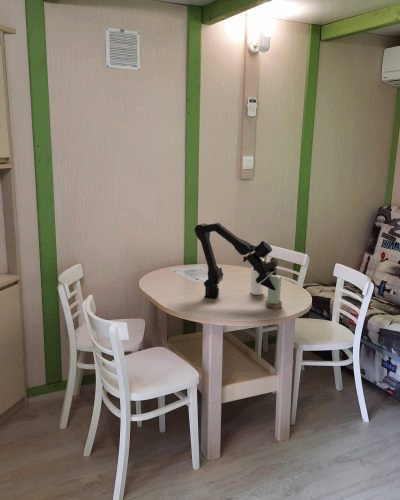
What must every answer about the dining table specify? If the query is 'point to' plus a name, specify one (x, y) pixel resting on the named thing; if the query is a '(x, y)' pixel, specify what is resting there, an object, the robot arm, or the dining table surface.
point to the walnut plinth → (273, 305)
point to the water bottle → (255, 283)
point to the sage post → (274, 294)
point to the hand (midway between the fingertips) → (277, 287)
